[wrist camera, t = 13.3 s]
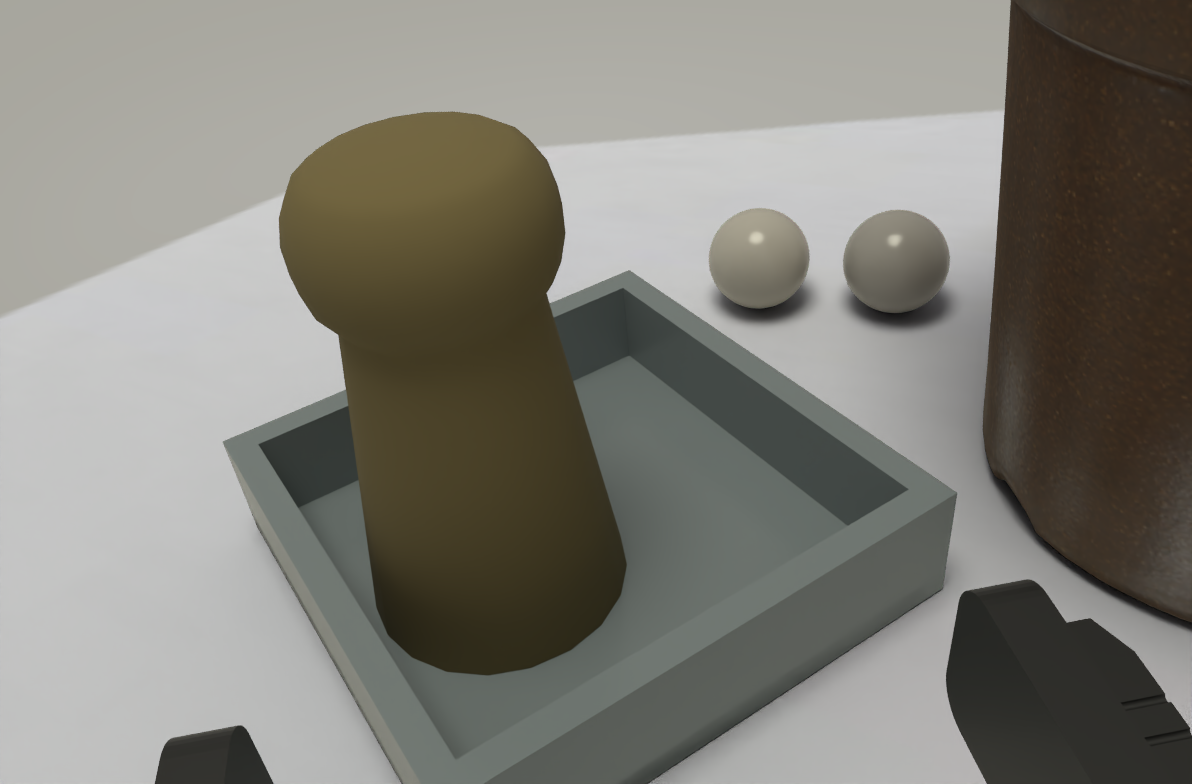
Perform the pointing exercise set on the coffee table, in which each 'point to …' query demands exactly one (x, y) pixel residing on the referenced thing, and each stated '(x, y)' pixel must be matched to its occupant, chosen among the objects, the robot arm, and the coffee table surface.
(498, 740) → the slate dish
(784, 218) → the pebble
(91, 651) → the coffee table surface
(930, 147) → the coffee table surface
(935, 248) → the pebble
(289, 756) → the coffee table surface
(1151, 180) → the plant pot
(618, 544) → the cork
